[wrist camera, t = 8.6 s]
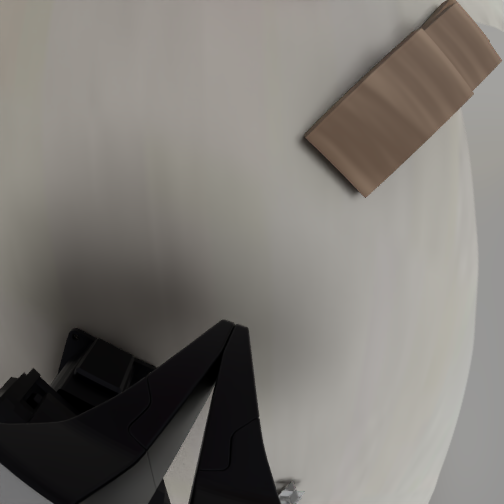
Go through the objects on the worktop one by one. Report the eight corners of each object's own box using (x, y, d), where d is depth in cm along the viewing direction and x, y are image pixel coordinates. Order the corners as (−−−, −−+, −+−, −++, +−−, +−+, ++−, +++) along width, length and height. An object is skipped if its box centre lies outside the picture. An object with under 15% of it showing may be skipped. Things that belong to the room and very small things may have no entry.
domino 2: (416, 146, 17) (502, 60, 13) (363, 86, 16) (457, 2, 12) (408, 141, 19) (490, 61, 15) (358, 86, 18) (447, 6, 13)
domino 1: (365, 198, 18) (474, 93, 14) (305, 137, 17) (421, 27, 13) (360, 190, 19) (462, 92, 15) (304, 134, 18) (412, 32, 14)
